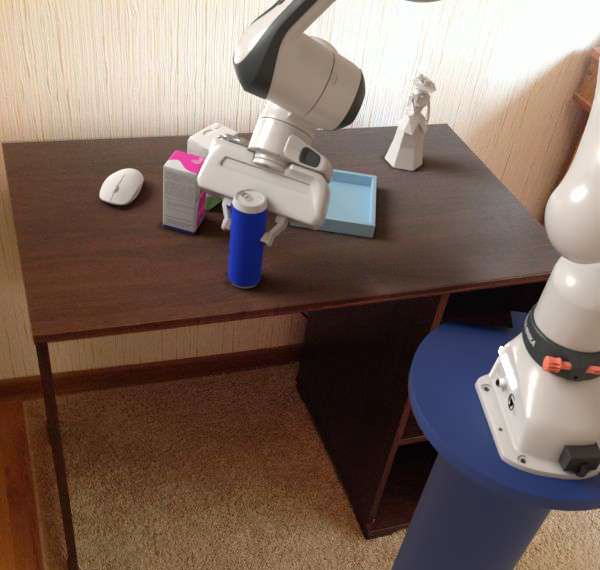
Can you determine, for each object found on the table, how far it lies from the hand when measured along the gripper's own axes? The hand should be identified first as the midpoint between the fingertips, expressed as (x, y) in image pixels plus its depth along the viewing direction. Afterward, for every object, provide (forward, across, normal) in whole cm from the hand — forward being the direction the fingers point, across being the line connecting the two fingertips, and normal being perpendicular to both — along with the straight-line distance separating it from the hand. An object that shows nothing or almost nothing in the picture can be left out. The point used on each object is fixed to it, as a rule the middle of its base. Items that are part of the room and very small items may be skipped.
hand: (245, 238), depth 113 cm
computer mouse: (-2, -29, +14) cm, 32 cm away
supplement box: (0, -16, +13) cm, 20 cm away
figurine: (-30, +11, +42) cm, 53 cm away
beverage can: (+6, 0, +6) cm, 9 cm away
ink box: (-7, -15, +19) cm, 26 cm away
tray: (-14, +5, +26) cm, 30 cm away
